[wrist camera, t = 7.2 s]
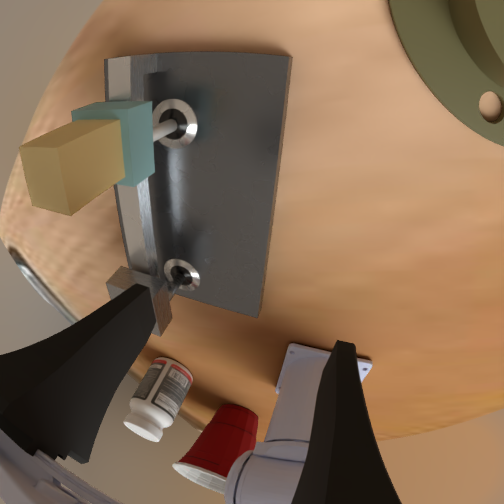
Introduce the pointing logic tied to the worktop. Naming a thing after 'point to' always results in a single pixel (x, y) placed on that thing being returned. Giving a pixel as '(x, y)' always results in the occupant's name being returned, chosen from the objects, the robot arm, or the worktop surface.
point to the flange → (457, 54)
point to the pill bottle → (158, 398)
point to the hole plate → (215, 171)
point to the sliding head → (92, 154)
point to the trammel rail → (139, 204)
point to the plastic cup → (219, 447)
